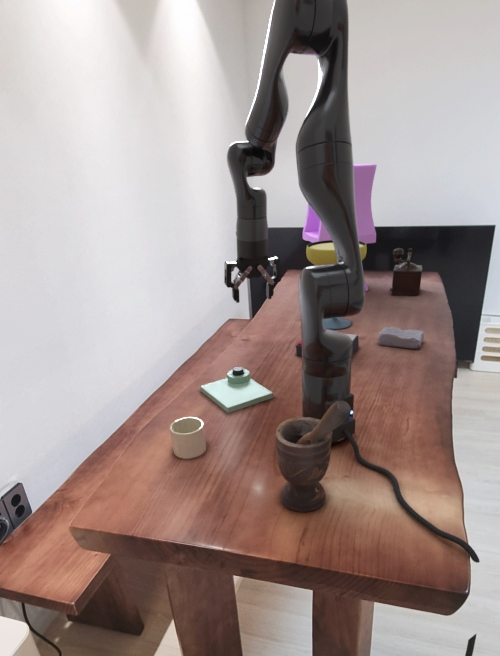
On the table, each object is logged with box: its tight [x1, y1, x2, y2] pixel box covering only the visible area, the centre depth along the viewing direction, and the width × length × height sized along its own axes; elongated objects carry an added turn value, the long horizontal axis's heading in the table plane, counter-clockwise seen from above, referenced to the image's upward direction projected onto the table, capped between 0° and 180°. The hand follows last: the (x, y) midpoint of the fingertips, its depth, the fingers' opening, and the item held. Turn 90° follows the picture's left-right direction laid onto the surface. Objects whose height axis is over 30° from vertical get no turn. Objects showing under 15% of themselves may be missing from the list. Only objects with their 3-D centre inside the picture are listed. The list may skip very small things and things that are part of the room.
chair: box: [302, 163, 378, 292], centre depth 183 cm, size 22×22×45 cm
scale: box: [199, 368, 274, 414], centre depth 111 cm, size 14×12×3 cm
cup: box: [169, 416, 207, 460], centre depth 90 cm, size 6×6×6 cm
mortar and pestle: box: [275, 401, 351, 513], centre depth 71 cm, size 12×9×20 cm
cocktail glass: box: [305, 240, 368, 330], centre depth 147 cm, size 18×18×25 cm
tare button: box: [232, 366, 244, 376], centre depth 115 cm, size 3×3×2 cm
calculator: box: [295, 333, 360, 357], centre depth 131 cm, size 11×4×15 cm
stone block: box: [378, 325, 425, 350], centre depth 134 cm, size 12×5×10 cm
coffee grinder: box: [389, 247, 423, 297], centre depth 175 cm, size 16×11×18 cm
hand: (253, 299), depth 121 cm, fingers open, 8 cm apart
